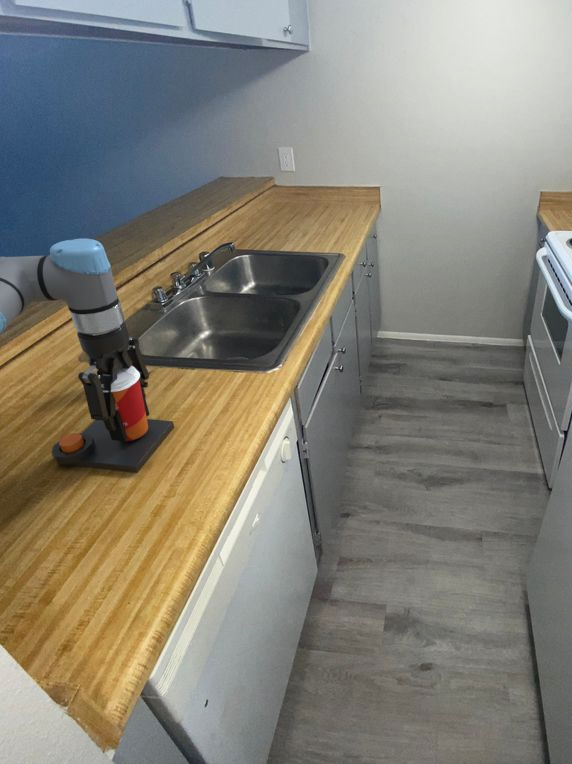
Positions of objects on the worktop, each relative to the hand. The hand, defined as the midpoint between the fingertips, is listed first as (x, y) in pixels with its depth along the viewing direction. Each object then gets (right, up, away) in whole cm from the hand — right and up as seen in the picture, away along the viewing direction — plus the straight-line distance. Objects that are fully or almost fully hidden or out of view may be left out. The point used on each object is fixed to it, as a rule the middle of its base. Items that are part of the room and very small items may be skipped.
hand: (131, 426), depth 94 cm
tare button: (-9, -3, -4) cm, 10 cm away
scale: (-3, -4, +1) cm, 5 cm away
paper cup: (0, -1, +1) cm, 2 cm away
